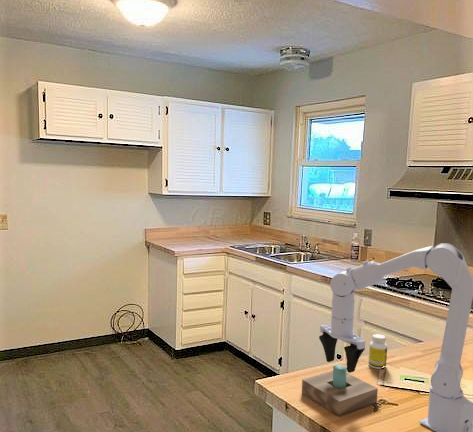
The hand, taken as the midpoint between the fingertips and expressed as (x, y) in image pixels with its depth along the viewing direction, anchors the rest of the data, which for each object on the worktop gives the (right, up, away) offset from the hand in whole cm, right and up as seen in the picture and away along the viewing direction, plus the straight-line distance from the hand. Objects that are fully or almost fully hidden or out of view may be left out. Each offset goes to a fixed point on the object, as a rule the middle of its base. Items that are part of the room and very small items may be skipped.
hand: (340, 366), depth 122 cm
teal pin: (0, -8, +1) cm, 8 cm away
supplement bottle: (+17, -8, +22) cm, 29 cm away
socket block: (0, -9, +1) cm, 9 cm away
